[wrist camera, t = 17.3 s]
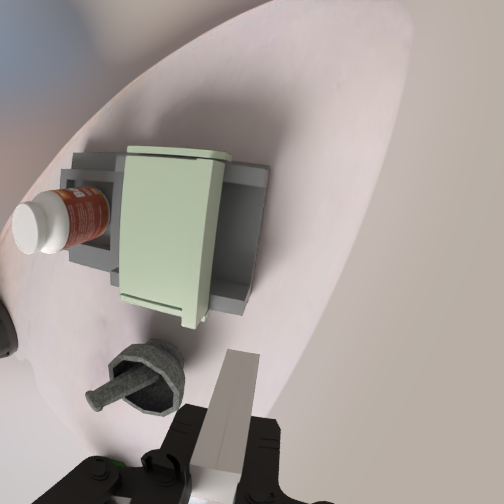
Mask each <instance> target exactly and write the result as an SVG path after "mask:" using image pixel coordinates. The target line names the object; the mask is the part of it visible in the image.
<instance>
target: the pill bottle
mask: <svg viewBox="0 0 504 504" xmlns="http://www.w3.org/2000/svg"><path fill="white" fill-rule="evenodd" d="M109 221H110V206H109V202H108V200H107V198H106V196H105V195H104V193H103V192H102V191H101V190H99V189H98V188H96V187H78V188H68V189H59V190H51V191H45V192H42V193H39V194H38V195H37V196H36V197H35V198H34V199H33V200H32V201H29V202H24V203H21V204H19V205H18V206H17V207H16V209H15V211H14V213H13V218H12V231H13V236H14V239H15V242H16V244H17V246H18V248H19V249H20V250H21V251H22V252H23V253H25V254H32V253H34V252H38V251H41V252H43V253H46V254H53V253H56V252H59V251H62V250H64V249H67V248H69V247H72V246H75V245H78V244H80V243H83V242H86V241H89V240H92V239H95V238H97V237H99V236H100V235H102V234H103V233H104V232H105V230H106V229H107V227H108V224H109Z"/></svg>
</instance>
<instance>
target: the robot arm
mask: <svg viewBox="0 0 504 504" xmlns="http://www.w3.org/2000/svg"><path fill="white" fill-rule="evenodd" d="M17 347H18V342H17V337H16V333H15V329H14V327H13V324H12V321H11V319H10V317H9V315H8V313H7V311H6V309H5V307H4V306H3V304H2V302H1V301H0V358H4V357H8V356H10V355H12V354H13V353H15V352H16V351H17ZM259 357H260V354H253V353H247V352H242V351H236V350H231V349H228V350H227V353H226V356H225V359H224V362H223V365H222V368H221V371H220V374H219V377H218V380H217V383H216V386H215V389H214V392H213V395H212V398H211V401H210V404H209V407H208V408H203V407H199V406H195V405H190V404H185V405H184V406H182V407H181V408H180V409H179V410H177V412H176V415H175V417H174V419H173V422H172V423H171V426H170V428H169V430H168V432H167V435H166V437H165V439H164V441H163V443H162V446H161V448H160V449H156V450H151V451H149V452H147V453H145V454H144V455H143V457H142V458H141V462H142V465H143V467H125V466H117V465H116V464H115V463H114V462H113V461H111V460H110V459H108V458H106V457H103V456H91V457H88V458H87V459H85V460H83V461H82V462H81V463H80V464H79V465H78V466H76V467H75V468H74V469H73V470H72V471H71V472H69V473H68V474H67V475H66V476H65V477H63V478H62V479H61V480H60V481H59V482H57V484H55V485H54V486H53V487H51V488H50V489H49V490H48V491H47V492H45V493H44V494H43V495H42V496H40V497H39V498H38V499H37V500H35V501H34V502H33V503H32V504H188V502H189V499H190V496H191V497H195V498H199V499H204V500H208V501H213V502H218V503H224V504H308V503H304V502H301V501H298V500H294V499H292V498H290V497H288V496H287V495H285V494H284V493H283V491H282V490H281V489H280V486H279V483H278V474H279V455H280V433H281V432H280V431H281V429H280V427H279V425H278V424H277V421H276V419H269V418H261V417H255V416H251V412H252V405H253V399H254V392H255V385H256V378H257V371H258V364H259ZM312 504H334V503H331V502H327V501H318V502H315V503H312Z"/></svg>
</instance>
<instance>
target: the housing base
mask: <svg viewBox="0 0 504 504" xmlns="http://www.w3.org/2000/svg"><path fill="white" fill-rule="evenodd" d="M126 156H147V157H163V158H177V159H189V160H197V158H187V157H174V156H159V155H142V154H135V153H73V158H72V168H71V169H61V178H60V189H68V188H78V187H96V188H98V189H99V190H101V191H102V192H103V193H104V195H105V196H106V198H107V200H108V202H109V206H110V221H109V224H108V227H107V229H106V230H105V232H104V233H103V234H102V235H100V236H99V237H97V238H95V239H92V240H89V241H86V242H83V243H80V244H78V245H75V246H72V247H69V248H67V249H64V250H68V251H69V261H70V262H74V263H77V264H81V265H85V266H88V267H92V268H96V269H99V270H103V271H107V272H110V278H111V285H113V286H117V287H119V241H120V217H121V202H122V190H123V179H124V170H125V162H126ZM215 161H218V160H215ZM218 162H222V163H225V169H224V176H223V183H222V190H221V198H220V205H219V213H218V221H217V229H216V237H215V245H214V254H213V263H212V272H211V281H210V291H209V301H208V309H211V310H216V311H221V312H226V313H231V314H236V315H241V316H242V315H243V313H244V310H245V307H246V304H247V303H248V301H249V298H250V294H251V287H252V281H253V275H254V268H255V262H256V256H257V249H258V243H259V236H260V230H261V224H262V217H263V211H264V204H265V198H266V191H267V185H268V178H269V172H270V167H269V166H265V165H258V164H251V163H243V162H235V161H231V162H227V161H218Z"/></svg>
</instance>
